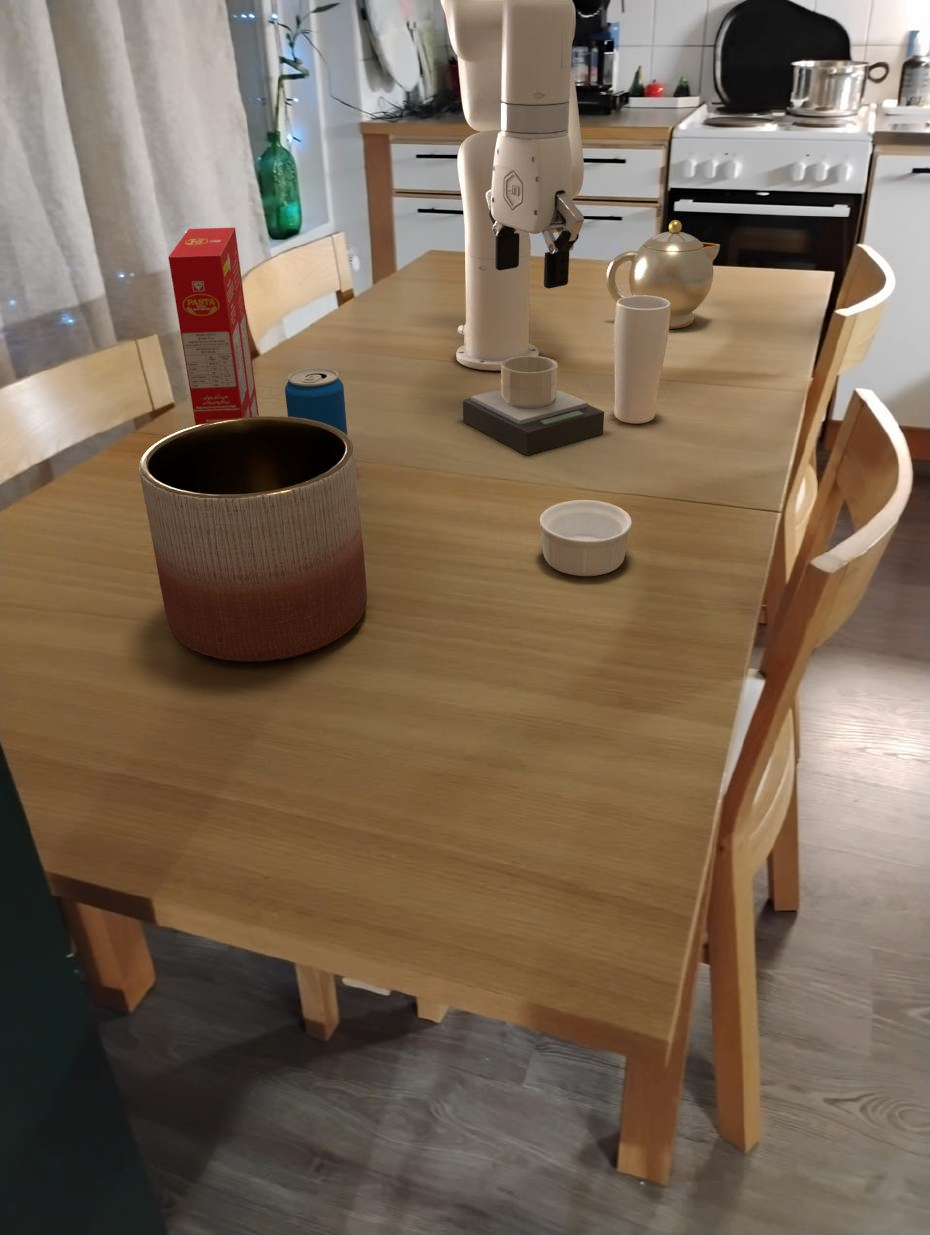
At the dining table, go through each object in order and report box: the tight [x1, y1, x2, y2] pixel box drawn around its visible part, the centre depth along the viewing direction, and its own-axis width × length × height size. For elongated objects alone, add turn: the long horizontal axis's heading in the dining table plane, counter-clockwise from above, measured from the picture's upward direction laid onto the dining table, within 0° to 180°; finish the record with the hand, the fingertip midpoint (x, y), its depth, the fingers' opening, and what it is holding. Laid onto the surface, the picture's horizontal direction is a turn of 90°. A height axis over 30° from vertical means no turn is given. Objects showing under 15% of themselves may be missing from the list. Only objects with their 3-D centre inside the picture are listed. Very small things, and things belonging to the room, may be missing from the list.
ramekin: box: [539, 499, 633, 577], centre depth 98 cm, size 9×9×4 cm
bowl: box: [500, 355, 559, 408], centre depth 127 cm, size 7×7×5 cm
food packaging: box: [167, 227, 260, 426], centre depth 116 cm, size 15×5×25 cm, turn 5°
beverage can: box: [284, 367, 348, 436], centre depth 114 cm, size 6×6×12 cm
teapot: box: [605, 219, 721, 330], centre depth 165 cm, size 18×14×16 cm
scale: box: [462, 388, 605, 457], centre depth 128 cm, size 14×12×4 cm
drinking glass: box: [613, 295, 671, 425], centre depth 128 cm, size 7×7×15 cm
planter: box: [138, 415, 368, 663], centre depth 87 cm, size 18×18×16 cm
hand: (530, 277), depth 121 cm, fingers open, 9 cm apart
